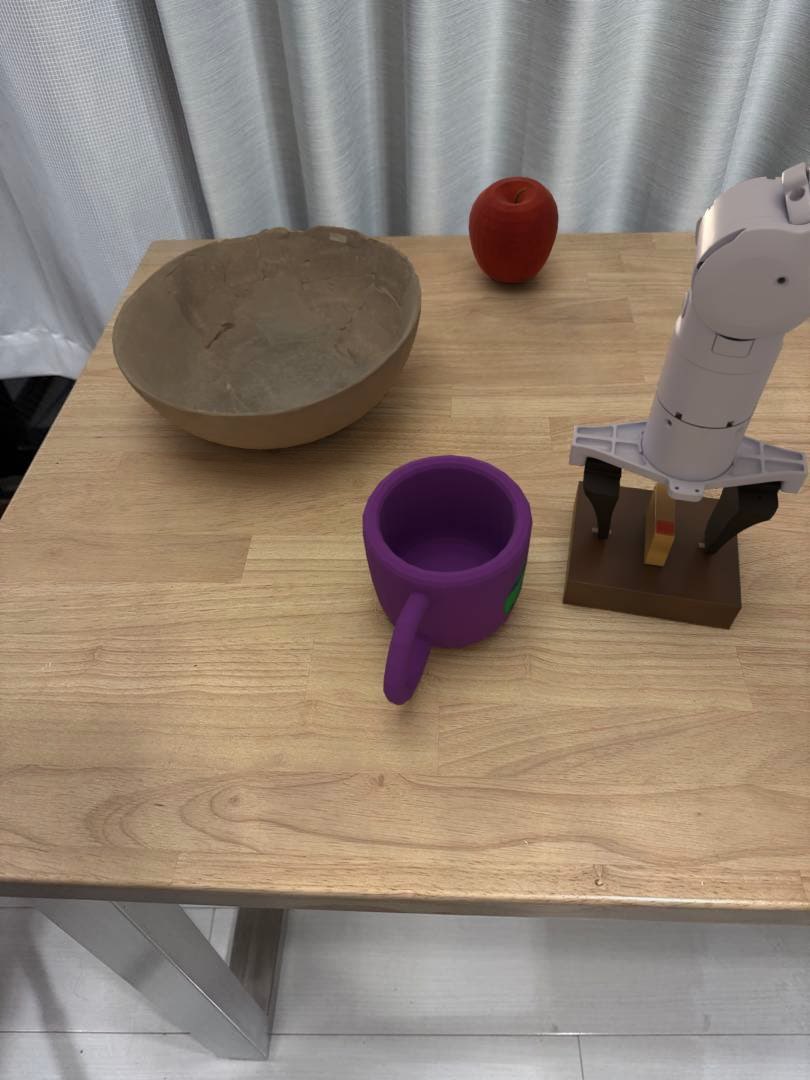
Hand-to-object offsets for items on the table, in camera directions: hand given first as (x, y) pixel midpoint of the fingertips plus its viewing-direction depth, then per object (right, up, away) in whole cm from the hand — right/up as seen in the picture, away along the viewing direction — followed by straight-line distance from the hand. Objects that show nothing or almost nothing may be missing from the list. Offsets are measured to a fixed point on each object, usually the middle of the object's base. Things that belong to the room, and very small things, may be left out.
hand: (655, 536), depth 54 cm
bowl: (-30, +15, +18) cm, 38 cm away
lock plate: (0, -2, +3) cm, 3 cm away
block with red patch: (0, 0, 0) cm, 0 cm away
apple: (-7, +30, +28) cm, 41 cm away
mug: (-16, -7, 0) cm, 18 cm away
